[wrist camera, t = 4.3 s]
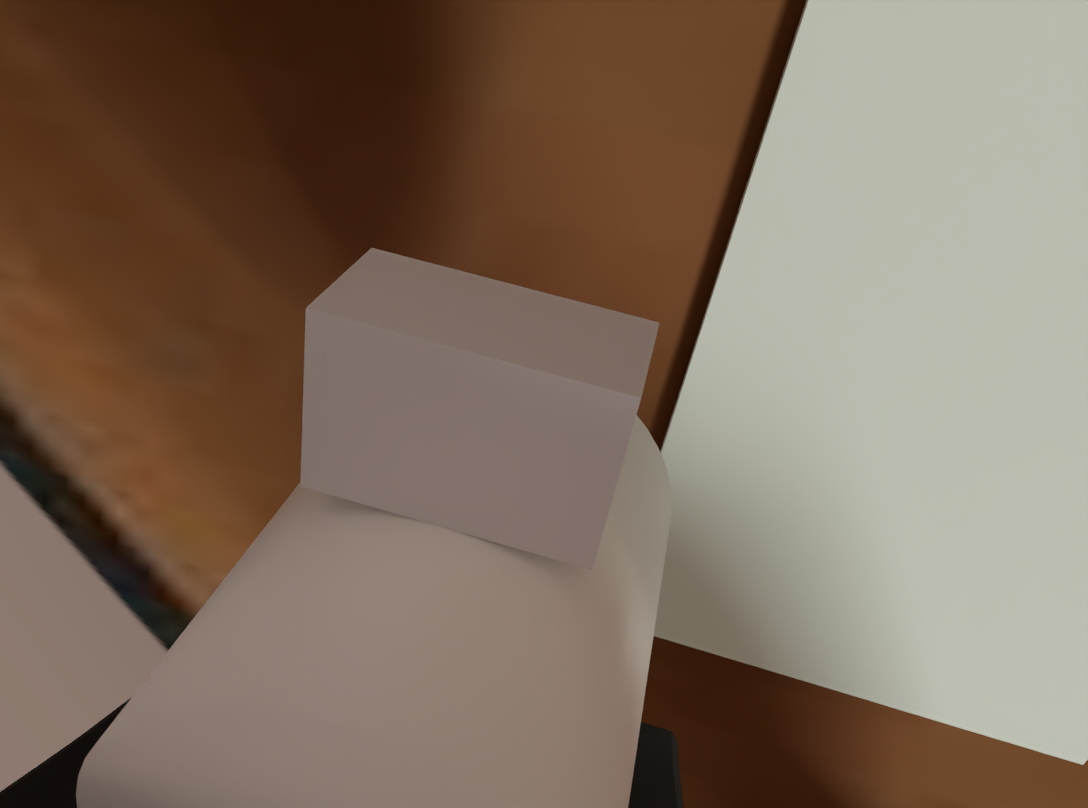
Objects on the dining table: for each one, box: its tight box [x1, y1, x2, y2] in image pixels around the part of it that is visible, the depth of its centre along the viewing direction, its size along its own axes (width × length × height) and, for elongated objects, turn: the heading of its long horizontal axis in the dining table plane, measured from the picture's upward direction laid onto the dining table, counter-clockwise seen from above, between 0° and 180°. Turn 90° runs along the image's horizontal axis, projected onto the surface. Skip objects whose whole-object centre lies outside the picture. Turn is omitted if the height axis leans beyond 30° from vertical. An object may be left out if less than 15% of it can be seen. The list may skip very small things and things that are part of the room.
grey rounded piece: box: [76, 248, 672, 808], centre depth 9 cm, size 11×4×5 cm, turn 170°
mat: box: [654, 0, 1088, 765], centre depth 16 cm, size 16×11×1 cm
